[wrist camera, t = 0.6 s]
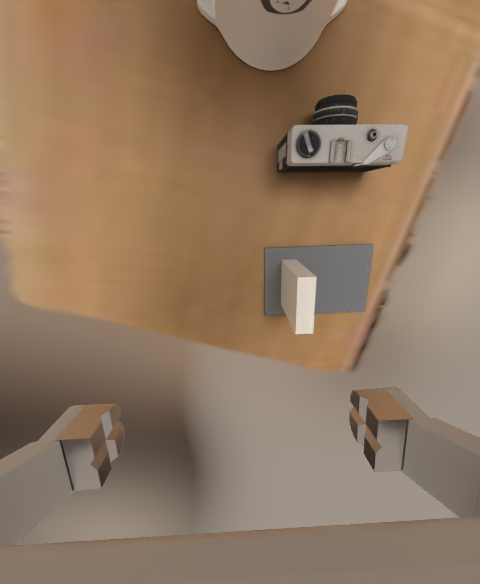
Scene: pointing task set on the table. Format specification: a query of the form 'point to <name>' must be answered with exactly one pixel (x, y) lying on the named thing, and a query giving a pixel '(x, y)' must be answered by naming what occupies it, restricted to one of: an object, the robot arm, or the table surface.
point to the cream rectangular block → (298, 295)
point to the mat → (323, 276)
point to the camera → (340, 141)
